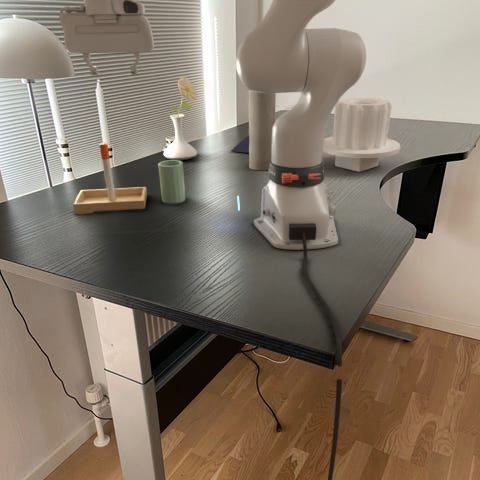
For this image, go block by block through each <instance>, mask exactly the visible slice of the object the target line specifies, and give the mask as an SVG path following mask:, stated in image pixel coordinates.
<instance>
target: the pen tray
mask: <svg viewBox="0 0 480 480" xmlns="http://www.w3.org/2000/svg"><path fill="white" fill-rule="evenodd" d="M114 191H115V197H116V201H110V202H109V198H108V192H107V188H97V189H80V191H78V192H79V193H78V194H77V196H76V198H75V200H74V201H73V203H72V207H73V211H74V215H86V214H94V212H104V211H105V212H106V211H122V210H123V211H125V210H142V209H143V210H144V209H146V203H147V198H148V191H147V186H135V187H117V188H115V187H114Z"/></svg>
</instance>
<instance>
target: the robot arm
mask: <svg viewBox="0 0 480 480" xmlns="http://www.w3.org/2000/svg"><path fill="white" fill-rule="evenodd" d="M335 1H336V0H272V2H271V4H270V6H269V8H268V10H267V12H266V13H265V15H264V16H263V18H262V19H261V21H260V22H259V23H258V24H257V25H256V26H255V27H254V29H253V30H251V31H250V32H249V33H247V34H246V35H245V36H244V37H243V39H242V40H241V42H240V43H239V46H238V48H237V50H236V55H235V68H236V73H237V76H238V79H239V80H240V82H241V84H242V85H243V87H245V89H247V90H254V91H259V92H265V93H276V94H283V93H284V94H285V93H286V94H287V93H300V96H299V99H298V101H297V102H296V104H295V105H294V106H293V107H292V108H290V109H289V110H287V111H285V112H284V113H282V114H281V115H279V117H277V118H276V119H275V123H274V125H273V127H272V151H271V161H270V162H269V170H268V178H269V180H268V181H267V183H266V184H265V185H264V186H263V188H262V189H261V205H260V217H257V218H255V219H253V226H254V227H255V228H256V229H257V230H258V231H259V233H261V234H262V236H263V237H265V239H266V240H267V241H268V242H269V243H270V245H272V246H273V247H274V248H276V249H281V250H290V251H291V250H293V251H295V250H296V251H299V250H300V251H301V250H303V264H302V272H303V273H302V274H303V276H304V279H305V280H306V282H307V284H308V286H309V288H310V289H311V290H312V292H313V294H314V296H315V297H316V299H317V300H318V302H319V303H320V304H321V306H322V307H323V308H324V310H325V312H326V314H327V316H328V318H329V320H330V323H331V326H332V329H333V333H334V338H335V341H336V366H337V367H339V368H340V367H342V366H343V345H342V339H341V334H340V329H339V326H338V323H337V321H336V318H335V316H334V313H333V312H332V310H331V308H330V307H329V305H328V303H327V302H326V301H325V299H324V298H323V297H322V295H321V294H320V292H319V290H318V289H317V288H316V286H315V285H314V283H313V281H312V280H311V278H310V276H309V274H308V250H316V249H317V250H319V249H324V248H329V247H333V246H336V245H338V244H339V237H338V233H337V229H336V223H335V219H334V216H336V205H334V204H329V202H330V201H331V198H332V197H331V194H328V193H327V185H326V182H324V180H325V176H324V175H325V166H324V165H325V164H324V161H323V153H324V152H323V143H324V139H325V137H326V136H325V135H326V129H327V125H328V122H329V119H330V116H331V114H332V112H333V110H334V109H335V105H336V103H337V102H338V101H340V100H341V98H342V97H343V96H344V95H345V94H346V92H348V90H350V89H351V88H352V87H353V86H355V84H356V83H357V82H358V81H359V80H360V78H361V77H362V76H363V73H364V70H365V68H366V63H367V49H366V45H365V43H364V40H363V39H362V37H361V35H360V34H359V33H358V32H354V31H352V30H351V31H350V30H346V29H341V28H335V27H331V28H329V27H327V28H306V27H307V26H308V24H309V23H310V22H311V21H312V19H313V18H315V16H317V15H318V14H319V13H321V12H323V11H325V10H326V9H328V8H329V7H330V6H332V5H333V4H334V3H335ZM83 4H84V5H77V6H70V5H69V6H64V8H61V10H60V11H59V13H58V17H59V24H60V26H61V28H62V29H63V39H64V40H63V41H64V47H65V50H66V51H67V53H68V54H69V55H77V54H78V55H80V54H81V55H82V59H83V61H84V63H85V64H86V65H87V67H88V68H89V71H90V76H98V75H99V71H98V66H94V65H93V63H92V62H91V61H90V59H91V54H116V53H118V54H119V53H121V54H122V53H133V58H135V62H134V64H131V65H129V66H130V75H138V64H139V62H140V60H141V53H152V52H153V51H154V49H155V40H154V36H153V32H152V27H151V23H150V21H149V18H147V16H146V15H144V14H145V12H146V7H145V4H144V3H142V2H140V1H137V0H83ZM236 198H237V211H239V212H240V211H241V210H240V208H241V207H240V206H241V205H240V196H239V195H237V197H236ZM342 384H343V379H342V378H340V379H336V389H335V405H334V417H333V418H334V419H333V430H332V441H331V449H330V450H331V451H330V457H329V458H330V459H329V466H328V473H327V480H333V477H334V470H335V463H336V456H337V446H338V439H339V438H338V437H339V428H340V414H341V403H342V386H343V385H342Z"/></svg>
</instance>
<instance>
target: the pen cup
mask: <svg viewBox="0 0 480 480" xmlns="http://www.w3.org/2000/svg"><path fill="white" fill-rule="evenodd" d="M157 167H158V178H159V186H160V195H161V201H162V202H163V203H165V204H179V203H184V202H185V201H186V198H187V197H186V187H185V174H184V173H185V172H184V162H183V161H182V160H172V159H167V160H162V161H160V162H158V163H157Z"/></svg>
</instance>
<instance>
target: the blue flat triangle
mask: <svg viewBox="0 0 480 480" xmlns="http://www.w3.org/2000/svg"><path fill="white" fill-rule="evenodd" d="M230 152H234V153H235V152H236V153H245V154H246V153H247V154H249V135H248V136H246V137H245V138H244V139H242V140H241V141H240V142H239V143H237V144H236V145H235V146H234V147H233V148H232V149H231V150H230Z"/></svg>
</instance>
